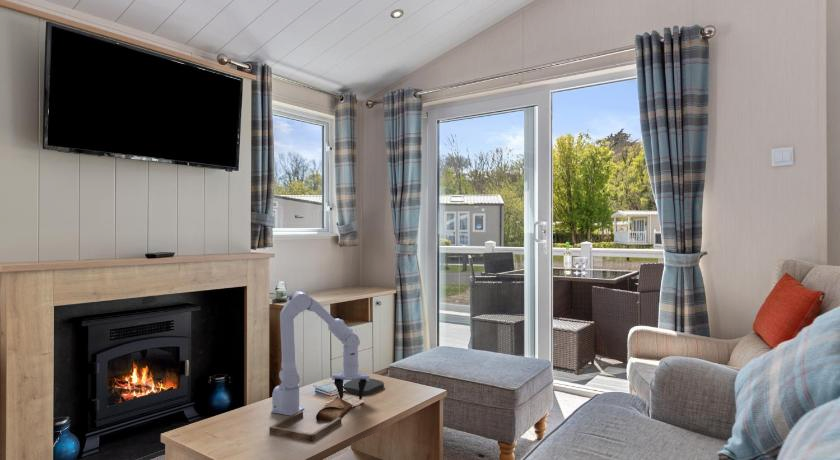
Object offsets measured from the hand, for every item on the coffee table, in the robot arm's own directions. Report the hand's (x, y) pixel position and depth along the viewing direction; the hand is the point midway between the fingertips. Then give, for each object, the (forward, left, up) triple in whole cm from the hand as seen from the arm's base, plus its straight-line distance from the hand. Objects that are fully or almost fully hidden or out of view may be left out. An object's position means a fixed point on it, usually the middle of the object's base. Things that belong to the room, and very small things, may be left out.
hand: (351, 398), depth 196 cm
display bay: (0, -28, -1) cm, 28 cm away
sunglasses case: (+1, -12, -2) cm, 12 cm away
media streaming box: (-4, +16, -2) cm, 16 cm away
